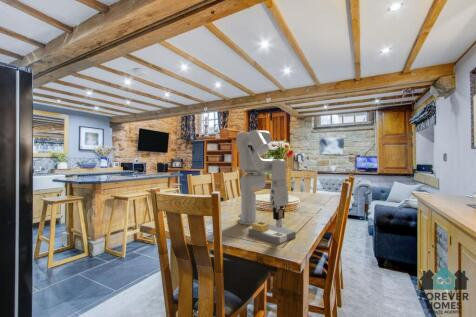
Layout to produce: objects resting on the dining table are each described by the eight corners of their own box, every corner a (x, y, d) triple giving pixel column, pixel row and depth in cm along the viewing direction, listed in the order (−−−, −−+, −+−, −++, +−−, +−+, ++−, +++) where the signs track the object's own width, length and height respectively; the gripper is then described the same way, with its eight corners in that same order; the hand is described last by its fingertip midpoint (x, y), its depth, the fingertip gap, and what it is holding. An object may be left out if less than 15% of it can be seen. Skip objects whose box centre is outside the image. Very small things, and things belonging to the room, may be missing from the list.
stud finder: (252, 228, 128) (252, 222, 128) (259, 226, 132) (259, 221, 132) (261, 231, 123) (261, 225, 123) (268, 229, 127) (268, 223, 127)
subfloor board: (248, 234, 128) (248, 228, 128) (267, 228, 138) (267, 223, 138) (277, 244, 113) (277, 238, 113) (295, 237, 124) (295, 231, 124)
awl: (273, 226, 118) (273, 209, 118) (278, 225, 121) (278, 208, 121) (279, 228, 115) (279, 210, 115) (284, 226, 118) (284, 209, 118)
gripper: (274, 184, 110) (274, 223, 110) (294, 182, 121) (294, 217, 121) (262, 183, 115) (262, 220, 115) (282, 181, 127) (282, 214, 127)
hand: (278, 218), depth 118 cm, fingers closed on awl, 4 cm apart
